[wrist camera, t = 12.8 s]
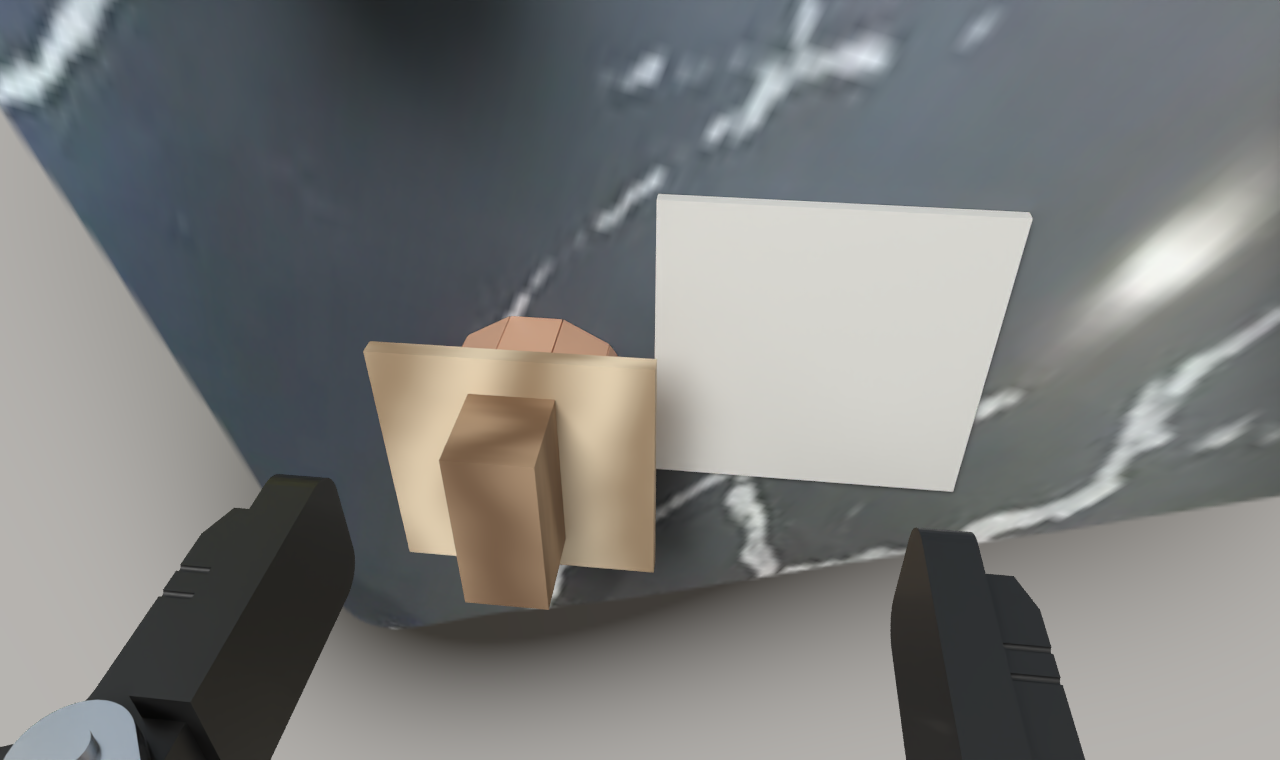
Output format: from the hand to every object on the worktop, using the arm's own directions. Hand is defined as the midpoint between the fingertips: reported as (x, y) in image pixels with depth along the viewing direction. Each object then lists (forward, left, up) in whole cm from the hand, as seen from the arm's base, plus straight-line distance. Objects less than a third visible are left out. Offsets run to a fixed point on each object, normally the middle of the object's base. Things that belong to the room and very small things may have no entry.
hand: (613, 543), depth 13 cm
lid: (+8, +20, -23) cm, 32 cm away
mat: (-6, +16, -28) cm, 33 cm away
